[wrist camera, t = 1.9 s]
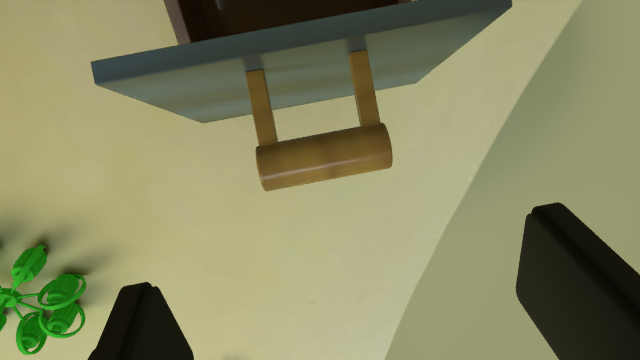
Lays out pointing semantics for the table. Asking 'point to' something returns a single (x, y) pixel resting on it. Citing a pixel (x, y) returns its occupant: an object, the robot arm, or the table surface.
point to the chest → (253, 15)
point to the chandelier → (57, 299)
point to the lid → (304, 79)
